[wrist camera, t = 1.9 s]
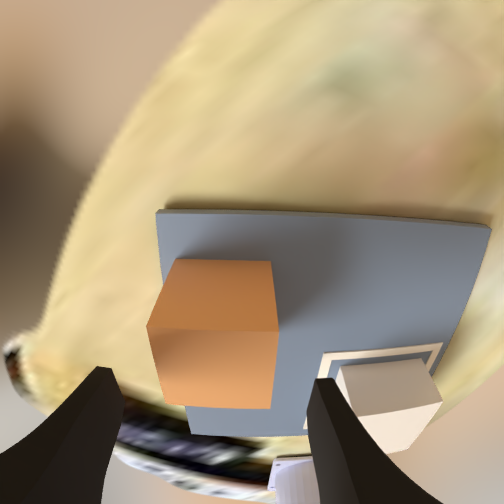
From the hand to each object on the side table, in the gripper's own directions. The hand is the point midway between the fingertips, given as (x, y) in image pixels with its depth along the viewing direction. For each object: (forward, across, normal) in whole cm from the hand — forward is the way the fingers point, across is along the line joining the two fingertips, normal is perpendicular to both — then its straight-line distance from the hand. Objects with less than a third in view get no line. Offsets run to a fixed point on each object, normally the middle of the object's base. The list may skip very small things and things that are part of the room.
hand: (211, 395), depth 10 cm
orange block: (+6, 0, 0) cm, 6 cm away
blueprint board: (+7, -6, +5) cm, 10 cm away
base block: (+6, -10, +8) cm, 14 cm away
